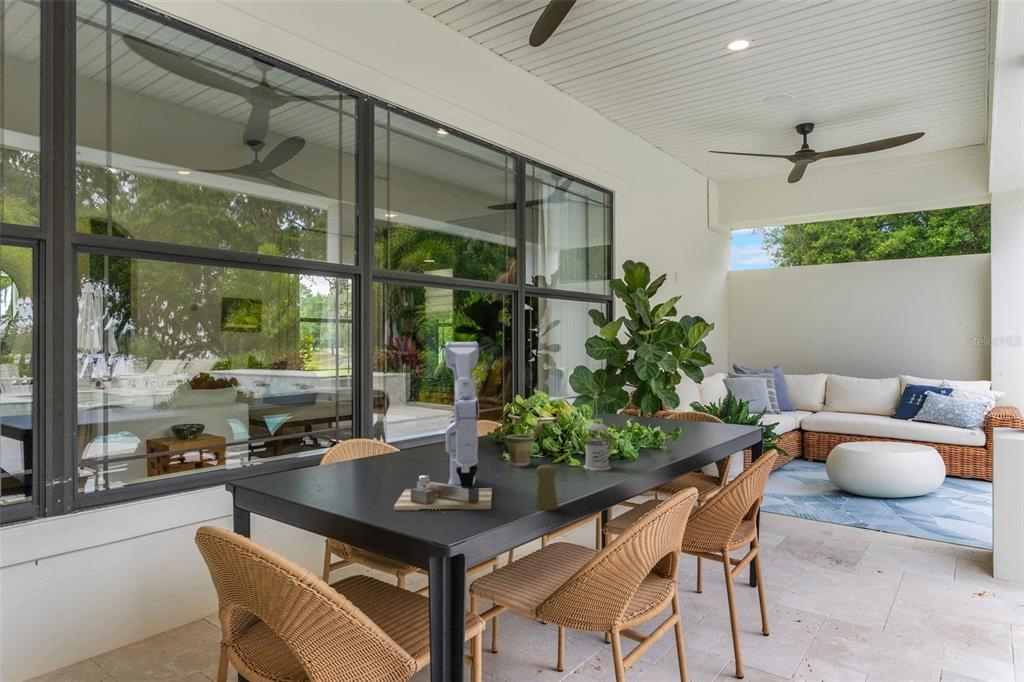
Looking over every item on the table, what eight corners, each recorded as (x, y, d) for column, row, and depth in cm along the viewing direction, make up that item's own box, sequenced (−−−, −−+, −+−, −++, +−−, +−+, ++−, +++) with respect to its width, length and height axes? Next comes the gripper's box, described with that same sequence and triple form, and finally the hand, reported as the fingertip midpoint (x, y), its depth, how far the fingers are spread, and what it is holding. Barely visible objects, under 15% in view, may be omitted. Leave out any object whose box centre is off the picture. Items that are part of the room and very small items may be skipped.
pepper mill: (544, 503, 163) (543, 462, 163) (562, 506, 159) (562, 464, 159) (530, 508, 158) (529, 465, 158) (549, 511, 154) (548, 468, 154)
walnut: (424, 498, 164) (424, 484, 164) (437, 497, 164) (437, 484, 164) (422, 501, 161) (422, 487, 161) (436, 501, 161) (435, 487, 161)
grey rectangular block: (417, 499, 163) (417, 487, 163) (433, 502, 159) (432, 490, 159) (410, 501, 161) (410, 489, 161) (426, 504, 157) (426, 492, 157)
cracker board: (405, 493, 175) (405, 489, 175) (491, 492, 175) (491, 488, 175) (394, 510, 157) (394, 505, 157) (490, 509, 157) (490, 504, 157)
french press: (576, 466, 211) (576, 395, 211) (602, 463, 217) (601, 393, 217) (595, 471, 202) (594, 396, 203) (621, 467, 209) (620, 395, 209)
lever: (415, 493, 168) (415, 476, 168) (422, 491, 170) (422, 474, 170) (473, 502, 157) (473, 484, 157) (479, 500, 160) (479, 482, 160)
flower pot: (534, 467, 211) (534, 438, 211) (505, 467, 211) (505, 438, 211) (533, 460, 224) (533, 433, 224) (506, 460, 224) (506, 433, 224)
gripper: (453, 439, 171) (454, 487, 171) (449, 448, 156) (449, 501, 156) (479, 439, 171) (479, 487, 171) (476, 448, 156) (477, 500, 156)
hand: (467, 494), depth 163 cm, fingers closed
